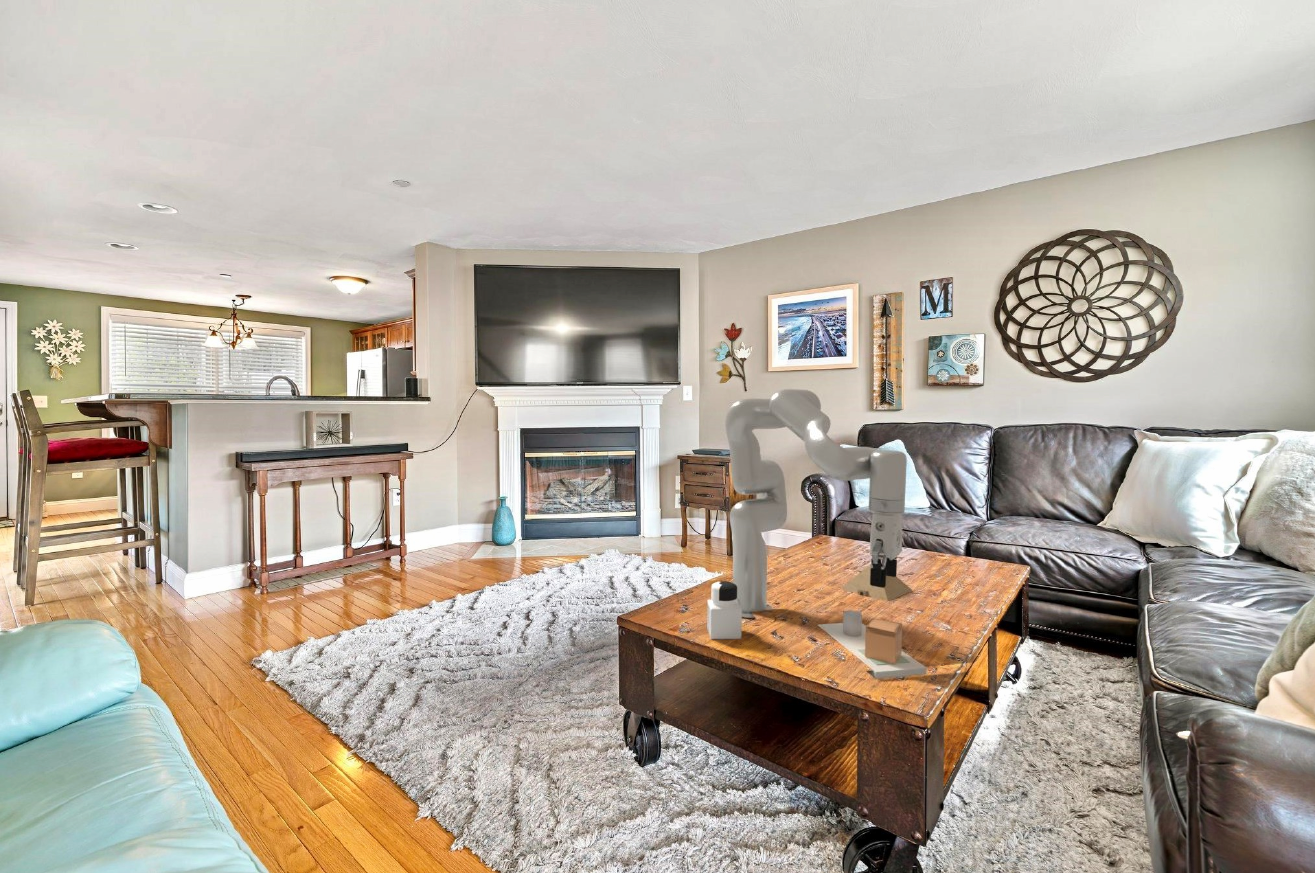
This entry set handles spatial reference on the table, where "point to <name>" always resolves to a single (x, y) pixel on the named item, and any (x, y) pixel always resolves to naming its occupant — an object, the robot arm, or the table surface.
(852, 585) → the model pyramid
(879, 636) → the brown block
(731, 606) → the container
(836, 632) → the post board
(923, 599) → the table surface
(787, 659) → the table surface
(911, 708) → the table surface
